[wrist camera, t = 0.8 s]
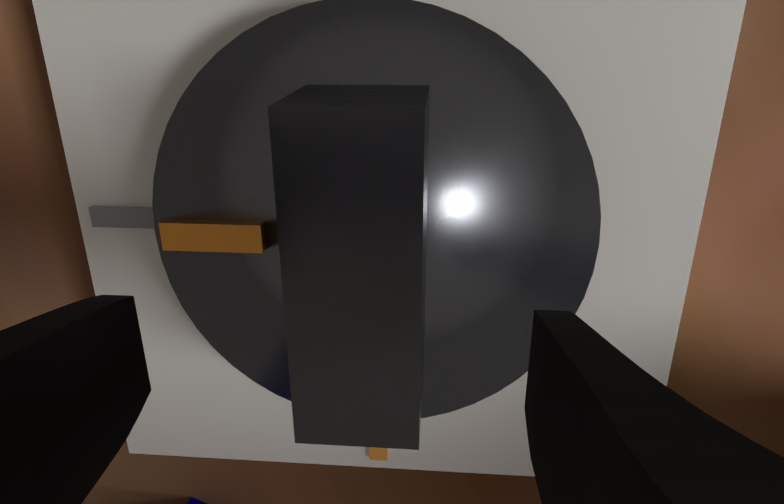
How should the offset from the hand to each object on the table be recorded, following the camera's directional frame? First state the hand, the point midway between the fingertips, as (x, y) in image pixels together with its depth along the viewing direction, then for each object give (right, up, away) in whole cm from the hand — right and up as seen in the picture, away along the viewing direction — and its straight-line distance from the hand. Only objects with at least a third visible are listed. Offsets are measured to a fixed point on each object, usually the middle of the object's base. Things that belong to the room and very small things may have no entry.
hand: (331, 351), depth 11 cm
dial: (+1, +3, +6) cm, 7 cm away
